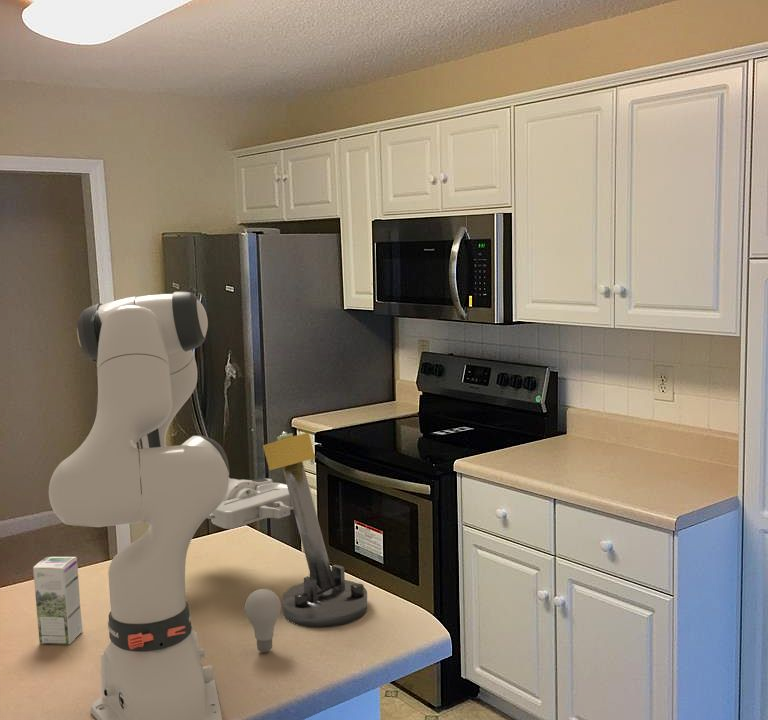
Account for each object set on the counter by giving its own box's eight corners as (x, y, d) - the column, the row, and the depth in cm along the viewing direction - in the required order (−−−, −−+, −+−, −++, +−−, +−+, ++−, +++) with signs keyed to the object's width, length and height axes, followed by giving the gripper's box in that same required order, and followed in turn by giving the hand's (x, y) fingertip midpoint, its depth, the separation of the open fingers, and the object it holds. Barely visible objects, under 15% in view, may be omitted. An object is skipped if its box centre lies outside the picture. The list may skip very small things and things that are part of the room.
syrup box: (83, 631, 159) (78, 555, 157) (69, 646, 153) (63, 566, 151) (53, 631, 159) (47, 554, 157) (38, 645, 153) (31, 566, 152)
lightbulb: (272, 662, 144) (269, 599, 143) (240, 657, 146) (237, 595, 145) (289, 646, 150) (286, 585, 149) (257, 642, 152) (254, 581, 151)
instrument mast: (351, 584, 164) (308, 425, 167) (329, 594, 160) (285, 430, 162) (322, 588, 169) (281, 433, 172) (300, 597, 165) (259, 438, 167)
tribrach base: (384, 606, 166) (383, 568, 165) (327, 635, 154) (325, 595, 153) (324, 587, 176) (322, 552, 175) (265, 613, 164) (263, 576, 163)
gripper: (196, 498, 170) (243, 509, 161) (273, 476, 185) (320, 485, 177) (198, 529, 171) (245, 542, 162) (274, 505, 186) (321, 515, 177)
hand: (284, 512), depth 169 cm, fingers closed
